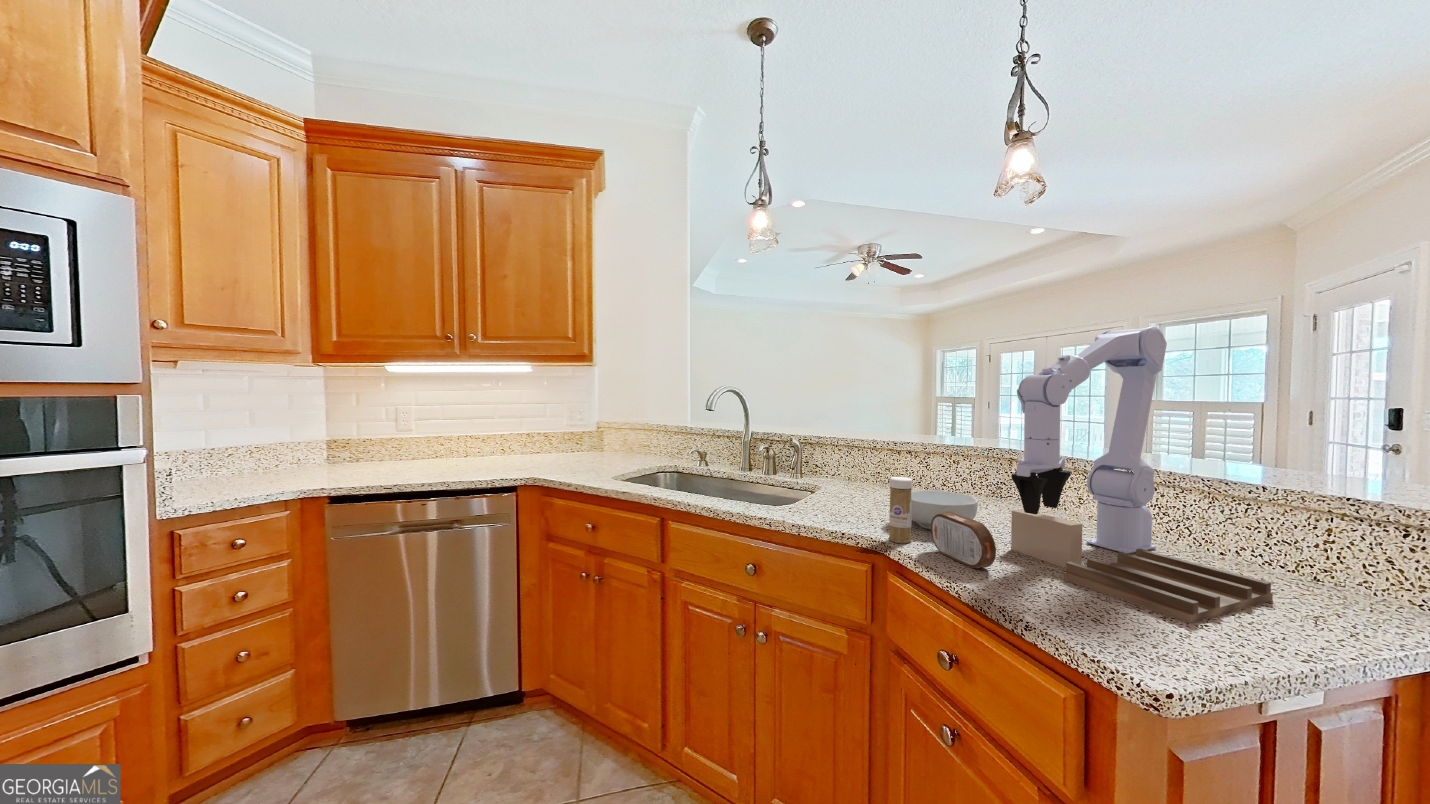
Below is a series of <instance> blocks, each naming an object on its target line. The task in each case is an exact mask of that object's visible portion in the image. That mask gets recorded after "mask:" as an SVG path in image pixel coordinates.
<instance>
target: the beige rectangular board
mask: <svg viewBox="0 0 1430 804" xmlns="http://www.w3.org/2000/svg"><path fill="white" fill-rule="evenodd" d="M1010 527H1011V529H1010V532H1011V537H1010V538H1011V539H1010V543H1011V544H1010V550H1011V551H1014V552H1017V553H1019V554H1023V555H1025V556H1030V557H1032V558H1035V559H1039V560H1042V561H1044V562H1047V563H1051V564H1054V565H1056V566H1060V567H1062V568H1066V563H1067V562H1074V563H1077V564H1080V565H1083V563H1082V562H1083V560H1082V559H1083V558H1082V557H1083V556H1082V555H1083V523H1080V522H1077V521H1072V520H1068V519H1065V518H1061V517H1058V516H1057V517H1056V516H1053V515H1052V516H1051V515H1049V514H1044V513H1040V512H1038V514H1030V513H1025V512H1024V509H1023V508H1022V509H1021V508H1020V509H1013V510H1011V526H1010Z"/></svg>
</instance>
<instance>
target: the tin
mask: <svg viewBox="0 0 1430 804" xmlns="http://www.w3.org/2000/svg"><path fill="white" fill-rule="evenodd" d="M930 532H931V539H932V542H933V544H934V546H935V548H936V549H937V550H938V552H940V553H941V554H942V555H943V556H945V557H948V558H950V559H952V560H954V561H956V562H958V563H960V564H962V565H964V566H965V567H968V568H971V569H980V568H981V569H982V568H988V567H990V566H992V565H993V564H994V563H995V561H996V557H997V547H996V542H995V540H994V537H993V535H992V533H991V531H990V530H989V529H988V528H987V526H986V525H985V524H983V523H982V522H980V521H977V520H975V519H973V520H972V519H970V518H967V517H964V516H962V515H959V514H956V513H954V512H945V513H940V514H937V515H935V516H934V517H933V519H932V521H931V529H930Z"/></svg>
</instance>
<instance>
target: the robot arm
mask: <svg viewBox="0 0 1430 804" xmlns="http://www.w3.org/2000/svg"><path fill="white" fill-rule="evenodd" d="M1167 345H1168V344H1167V341H1166V338H1165V337H1164V334H1163V333H1162V331H1161V330H1160V329H1159V328H1158V327H1155V326H1150V327H1149V326H1148V327H1144V328H1143V327H1142V328H1133V329H1122V330H1105V331H1102V332H1101V333H1100V334H1098V335H1096V336H1095V338H1094V342H1093V343H1091V344H1090V345H1089V346H1087V347H1086V348H1084V349H1083V350H1082V351H1081V352H1080V353H1078V354H1077V355H1072V354H1070V355H1069V354H1067V355H1066V354H1065V355H1064V354H1063V355H1061V356H1059V357H1058V358H1057V359H1058V360H1057V361H1056V362H1055V363H1053V364H1051V365H1050V366H1048V367H1047V366H1046V367H1044V368H1042V370H1041V372H1039V373H1038V374H1029V375H1028V376H1025V378H1023V379H1022V380H1021V381H1020V383H1019V385H1018V389H1016V395H1017V397H1018V400H1019V402H1020V404H1021V406H1020V407H1021V411H1022V414H1024V423H1023V424H1024V426H1023V427H1024V429H1023V430H1024V432H1023V438H1024V441H1023V443H1024V444H1023V446H1024V447H1023V458H1019V459H1017V463H1018V464H1016V472H1013V473H1011V480H1012V481H1013V483H1014V485H1015V487H1016V488H1017V489H1016V490H1017V491H1018V493H1019V496H1020V501H1021V504H1022V507H1023V508H1022V509H1024V512H1025V513H1030V514H1038V513H1039V512H1040V507H1041V498H1042V504H1043V506H1044V507H1046V508H1052V509H1057V508H1058V506H1059V503H1060V500H1061V496H1062V493H1063V490H1064V486H1066V483H1067V481H1068V480H1069V478H1070V477H1071V476H1072V475H1071V474H1072V473H1071V471H1070V470H1065V468H1066V467H1065V465H1066V461H1065V460H1066V459H1065V458H1062V457H1060V455H1061V448H1060V447H1061V405H1064V404H1065V403H1066V402H1067V400H1068V398H1069V395H1070V393H1071V392H1072V390H1073V389H1075V388H1077V387H1078V386H1080V385H1081V384H1082V383H1084V382H1085V381H1087V379H1089V377H1090V375H1091V370H1093V369H1094V368H1096V367H1098V366H1100V365H1102V364H1103V363H1105V365H1106V366H1108V368H1109V369H1110V370H1111V371H1112V372H1113V373H1116V374H1119V375H1120V377H1121V378H1122V383H1121V388H1120V392H1119V397H1118V402H1117V408H1116V414H1115V418H1114V422H1113V427H1112V433H1111V438H1110V443H1109V447H1108V452H1107V453H1105V454H1104V455H1102V456H1100V457H1098V458H1096V459H1095V460H1094V462H1093V466H1092V469H1091V471H1090V472H1089V473H1088V476H1087V478H1086V486H1087V489H1088V492H1089V494H1091V495H1092V496H1093V501H1096V504H1097V506H1096V512H1097V513H1096V538H1093V539H1092V538H1091V539H1086V541H1085V543H1087V544H1090V545H1093V546H1097V547H1101V548H1104V549H1108V550H1111V551H1116V552H1117V553H1119V552H1123V553H1127V554H1134V553H1136V549H1144V550H1147V551H1150V550H1154V549H1157V545H1155V544H1152V535H1153V533H1152V531H1153V530H1152V529H1153V515H1152V512H1151V510H1150V509H1149V508H1148V506H1147V504H1149V502H1150V501H1152V500H1153V497H1154V495H1155V491H1156V490H1155V489H1156V488H1155V482H1154V481H1155V479H1154V477H1155V470H1154V468H1153V467H1152V466H1151V465H1150V464H1148V463H1147V462H1146V461H1145V460H1144V459H1143V458H1142V451H1143V446H1144V441H1145V437H1146V431H1147V426H1148V422H1149V417H1150V412H1151V406H1152V401H1153V397H1154V392H1155V386H1156V381H1157V376H1158V373H1160V372H1162V370H1163V364H1164V361H1165V356H1166V351H1167ZM1124 470H1125V471H1124Z"/></svg>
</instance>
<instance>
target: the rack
mask: <svg viewBox="0 0 1430 804" xmlns="http://www.w3.org/2000/svg"><path fill="white" fill-rule="evenodd" d="M1116 557H1117V561H1115V562H1114V561H1113V562H1107V561H1103V560H1100V559H1097V558H1093V557H1089V558H1086V566H1085V565H1083V564H1082V565H1080V564H1077V563H1074V562H1067V563H1066V570H1065V571H1063V580H1065V581H1067V582H1070V583H1073V584H1076V585H1078V586H1082V587H1085V588H1087V589H1090V590H1093V591H1096V592H1098V593H1101V594H1104V595H1107V596H1109V597H1113V598H1115V599H1118V600H1122V601H1125V602H1127V603H1130V604H1133V605H1136V606H1138V607H1141V608H1144V609H1146V610H1150V611H1153V612H1155V613H1158V614H1161V615H1164V616H1167V617H1169V618H1173V619H1176V620H1178V621H1180V622H1184V623H1187V624H1190V625H1191V624H1196V623H1199V622H1202V621H1205V620H1208V619H1212V618H1216V617H1219V616H1223V615H1226V614H1230V613H1233V612H1236V611H1240V610H1243V609H1248V608H1250V607H1254V606H1256V605H1260V604H1264V603H1268V602H1271V601H1273V599H1274V597H1273V595H1274V593H1273V592H1272V591H1271V590H1272V582H1269V581H1266V580H1263V579H1262V580H1261V579H1258V578H1254V577H1251V576H1246V575H1243V574H1238V573H1234V572H1231V571H1227V570H1223V569H1220V568H1217V567H1212V566H1208V565H1205V564H1201V563H1196V562H1192V561H1189V560H1185V559H1181V558H1178V557H1173V556H1171V555H1166V554H1162V553H1158V552H1155V551H1152V550H1144V549H1136V552H1135V555H1134V554H1132V553H1128V554H1127V553H1123V552H1117V556H1116Z"/></svg>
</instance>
